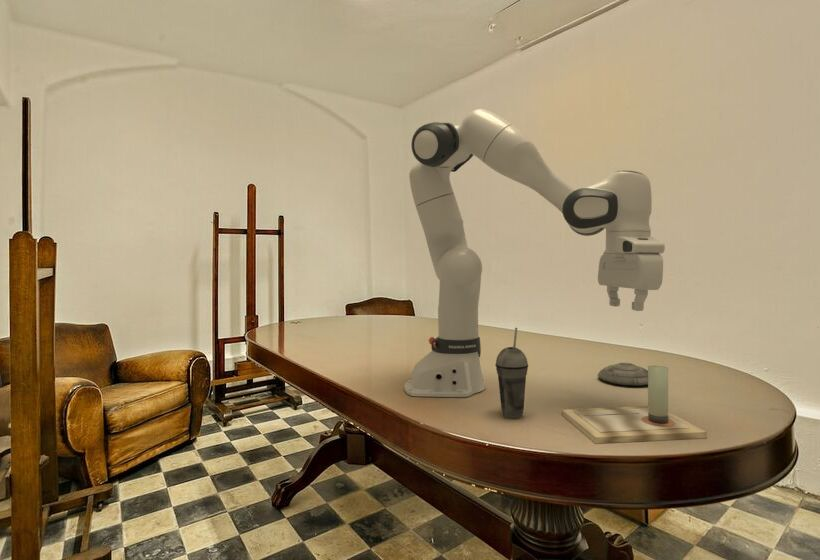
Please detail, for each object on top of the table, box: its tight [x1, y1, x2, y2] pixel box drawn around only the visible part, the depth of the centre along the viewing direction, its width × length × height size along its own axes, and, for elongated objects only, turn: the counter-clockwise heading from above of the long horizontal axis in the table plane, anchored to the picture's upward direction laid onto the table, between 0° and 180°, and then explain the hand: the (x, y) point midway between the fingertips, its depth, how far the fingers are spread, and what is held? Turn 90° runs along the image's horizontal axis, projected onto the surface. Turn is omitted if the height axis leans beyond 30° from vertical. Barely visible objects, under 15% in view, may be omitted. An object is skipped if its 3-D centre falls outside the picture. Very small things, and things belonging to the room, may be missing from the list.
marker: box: [647, 365, 669, 424], centre depth 91 cm, size 4×4×11 cm
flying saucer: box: [597, 362, 648, 387], centre depth 127 cm, size 15×15×6 cm
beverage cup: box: [495, 327, 529, 420], centre depth 100 cm, size 7×7×20 cm
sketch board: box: [561, 405, 708, 444], centre depth 93 cm, size 22×16×2 cm
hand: (625, 308), depth 99 cm, fingers open, 8 cm apart
